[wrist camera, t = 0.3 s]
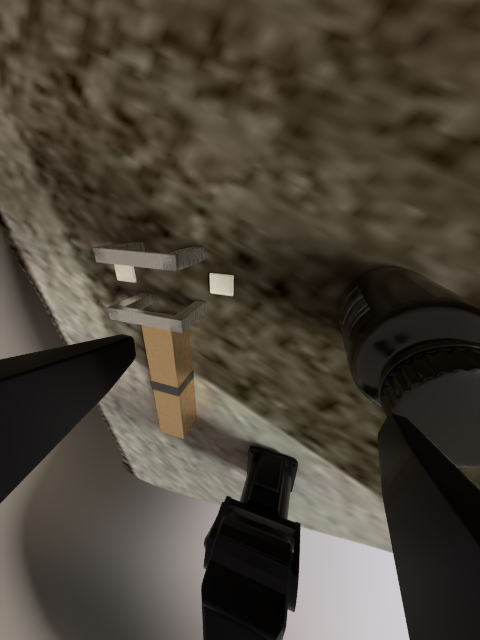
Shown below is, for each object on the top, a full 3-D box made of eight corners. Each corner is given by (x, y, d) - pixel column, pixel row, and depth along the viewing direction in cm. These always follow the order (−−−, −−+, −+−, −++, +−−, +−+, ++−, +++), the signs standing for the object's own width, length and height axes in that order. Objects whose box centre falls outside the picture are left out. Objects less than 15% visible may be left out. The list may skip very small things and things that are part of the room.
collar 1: (204, 260, 22) (176, 271, 17) (136, 253, 24) (96, 261, 20) (204, 247, 21) (175, 255, 17) (134, 241, 23) (92, 247, 19)
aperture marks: (233, 295, 22) (232, 296, 22) (119, 279, 26) (117, 280, 26) (233, 275, 21) (232, 276, 21) (115, 262, 25) (113, 262, 25)
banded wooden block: (196, 418, 32) (183, 439, 29) (175, 411, 33) (160, 431, 30) (189, 316, 25) (170, 330, 22) (161, 311, 26) (140, 324, 23)
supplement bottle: (366, 355, 21) (414, 498, 10) (321, 299, 20) (321, 392, 9) (454, 315, 17) (658, 468, 7) (402, 245, 16) (545, 297, 6)
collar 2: (206, 312, 24) (182, 333, 20) (144, 302, 26) (110, 318, 22) (206, 301, 23) (181, 321, 19) (142, 292, 26) (107, 307, 21)
